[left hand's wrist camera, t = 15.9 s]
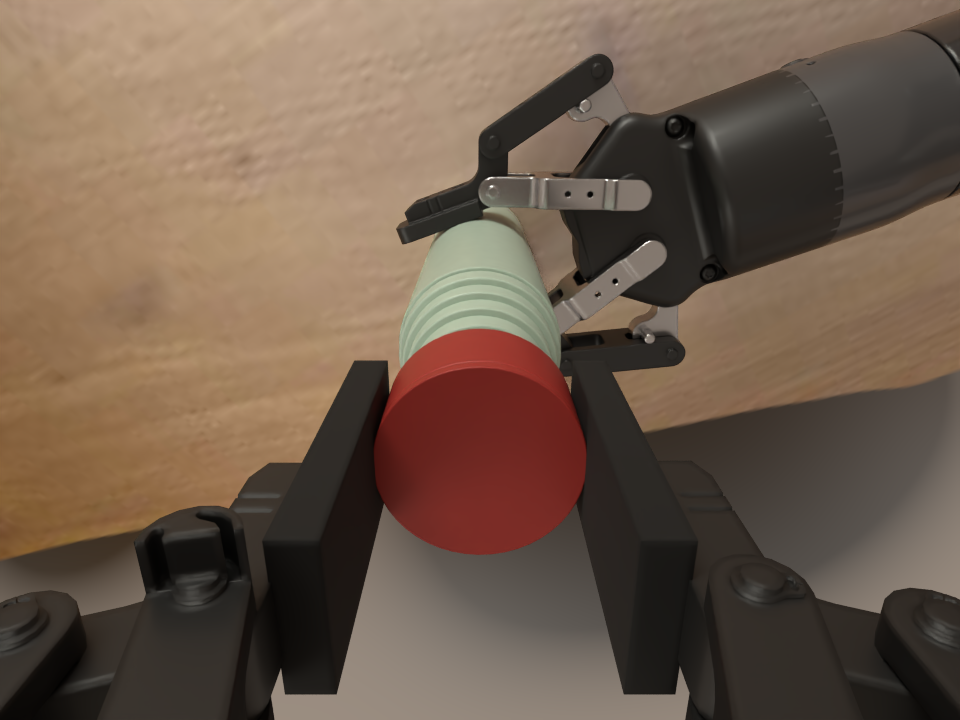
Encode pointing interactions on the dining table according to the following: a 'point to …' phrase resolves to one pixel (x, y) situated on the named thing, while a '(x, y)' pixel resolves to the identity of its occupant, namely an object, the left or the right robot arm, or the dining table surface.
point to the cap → (480, 444)
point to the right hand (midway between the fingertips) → (426, 291)
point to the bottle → (480, 287)
